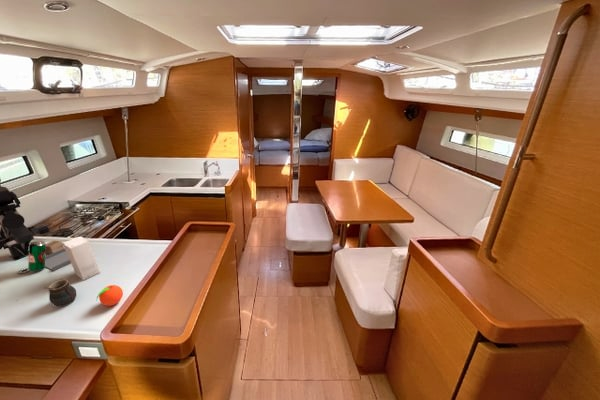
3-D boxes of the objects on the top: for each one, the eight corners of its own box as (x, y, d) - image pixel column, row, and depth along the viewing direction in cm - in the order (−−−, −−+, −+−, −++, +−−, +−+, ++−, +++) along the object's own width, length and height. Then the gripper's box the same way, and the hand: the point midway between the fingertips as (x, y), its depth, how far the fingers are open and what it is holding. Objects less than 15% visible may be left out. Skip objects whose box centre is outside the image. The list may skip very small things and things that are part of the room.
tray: (37, 263, 118) (36, 260, 118) (70, 248, 129) (69, 245, 129) (54, 271, 113) (52, 268, 112) (87, 255, 124) (86, 252, 123)
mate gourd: (83, 294, 99) (74, 273, 95) (67, 310, 92) (57, 287, 89) (64, 294, 99) (55, 273, 95) (47, 310, 92) (35, 287, 89)
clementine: (105, 314, 90) (99, 298, 87) (95, 307, 93) (88, 291, 91) (129, 300, 97) (124, 284, 94) (118, 293, 100) (113, 278, 97)
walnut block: (45, 255, 125) (41, 246, 123) (56, 249, 129) (52, 240, 127) (54, 256, 124) (50, 247, 122) (65, 250, 128) (61, 241, 126)
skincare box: (100, 273, 111) (89, 241, 106) (82, 281, 106) (69, 248, 100) (92, 266, 116) (81, 235, 110) (74, 274, 111) (61, 242, 105)
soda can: (26, 269, 112) (26, 241, 111) (41, 266, 116) (42, 239, 115) (31, 272, 110) (32, 244, 108) (47, 269, 114) (48, 242, 113)
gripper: (-15, 236, 92) (4, 273, 98) (50, 215, 108) (63, 248, 114) (-28, 230, 97) (-9, 265, 103) (36, 211, 112) (50, 242, 118)
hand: (26, 255), depth 109 cm, fingers closed
